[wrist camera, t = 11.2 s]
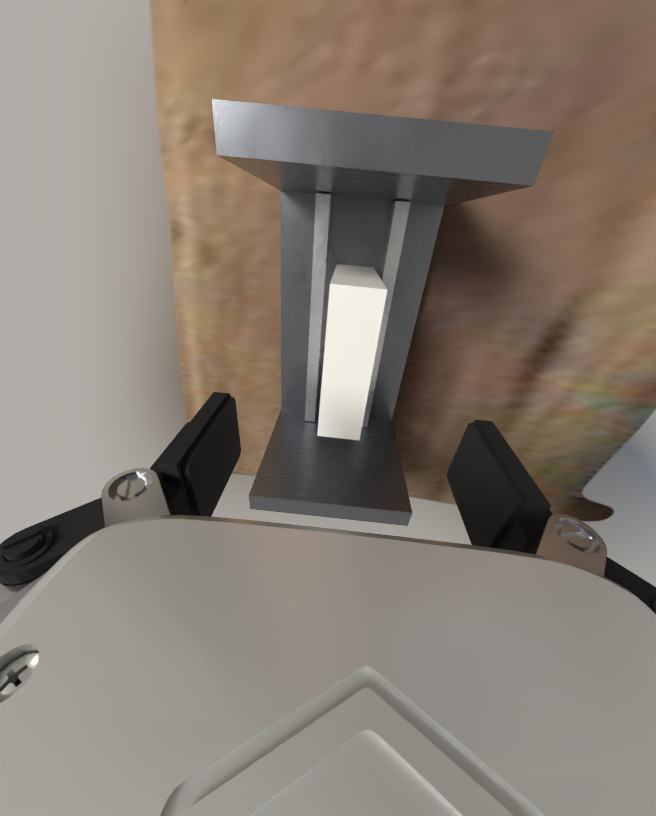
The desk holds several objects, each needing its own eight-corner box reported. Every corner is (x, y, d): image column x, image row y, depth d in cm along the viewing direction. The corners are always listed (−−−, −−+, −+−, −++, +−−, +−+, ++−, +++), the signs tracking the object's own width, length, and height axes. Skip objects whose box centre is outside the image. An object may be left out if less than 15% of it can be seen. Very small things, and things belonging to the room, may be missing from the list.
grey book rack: (283, 166, 21) (211, 98, 10) (446, 182, 21) (553, 131, 10) (283, 414, 33) (250, 508, 22) (388, 425, 33) (407, 525, 22)
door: (336, 263, 23) (329, 283, 15) (373, 267, 23) (387, 289, 15) (326, 374, 29) (317, 435, 20) (356, 377, 29) (359, 440, 20)
